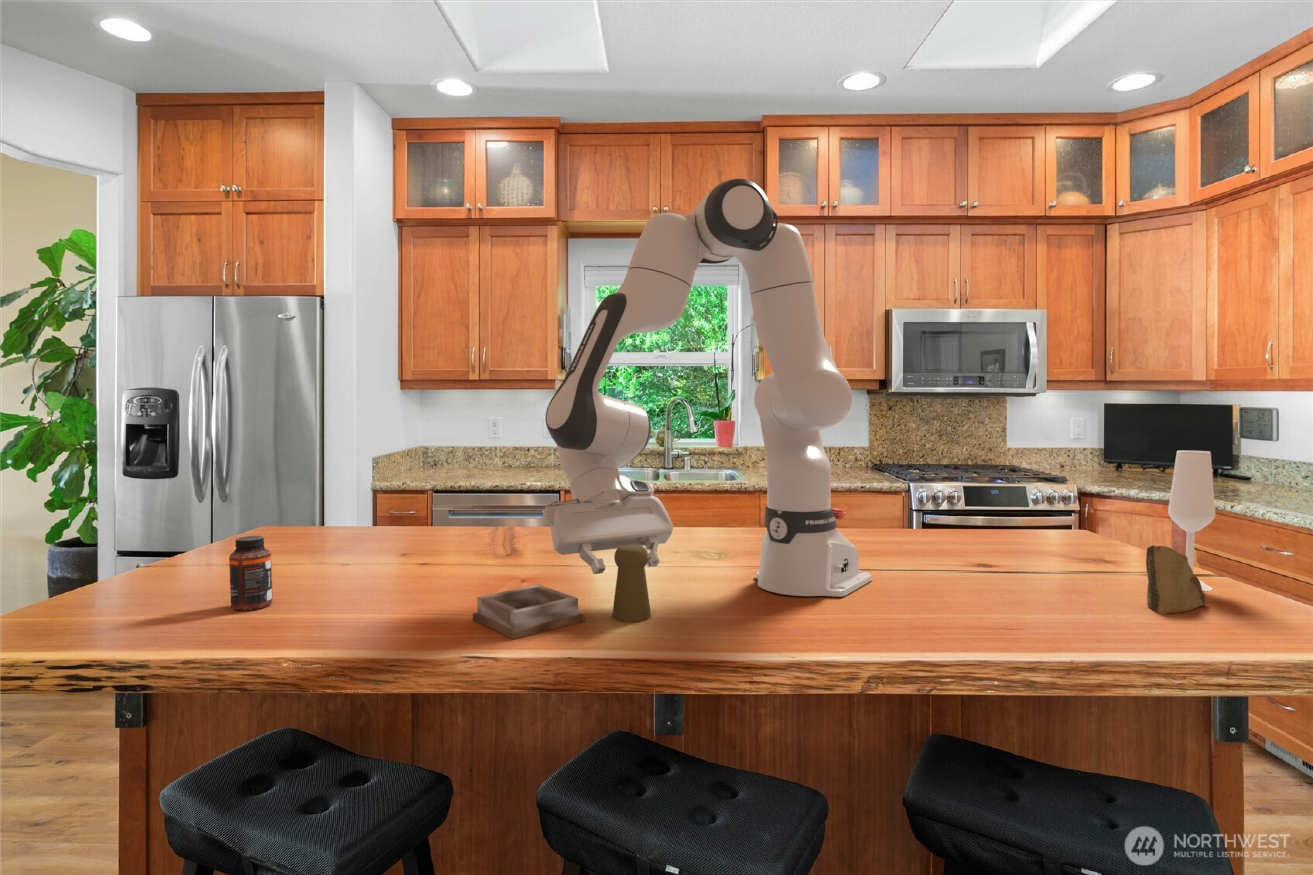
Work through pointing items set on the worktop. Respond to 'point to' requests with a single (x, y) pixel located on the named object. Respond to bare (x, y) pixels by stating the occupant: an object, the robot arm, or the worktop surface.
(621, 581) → the cork
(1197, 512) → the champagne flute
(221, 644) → the worktop surface
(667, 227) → the robot arm
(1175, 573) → the rock
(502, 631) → the socket mount
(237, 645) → the worktop surface
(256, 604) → the supplement bottle
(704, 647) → the worktop surface
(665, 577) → the worktop surface
